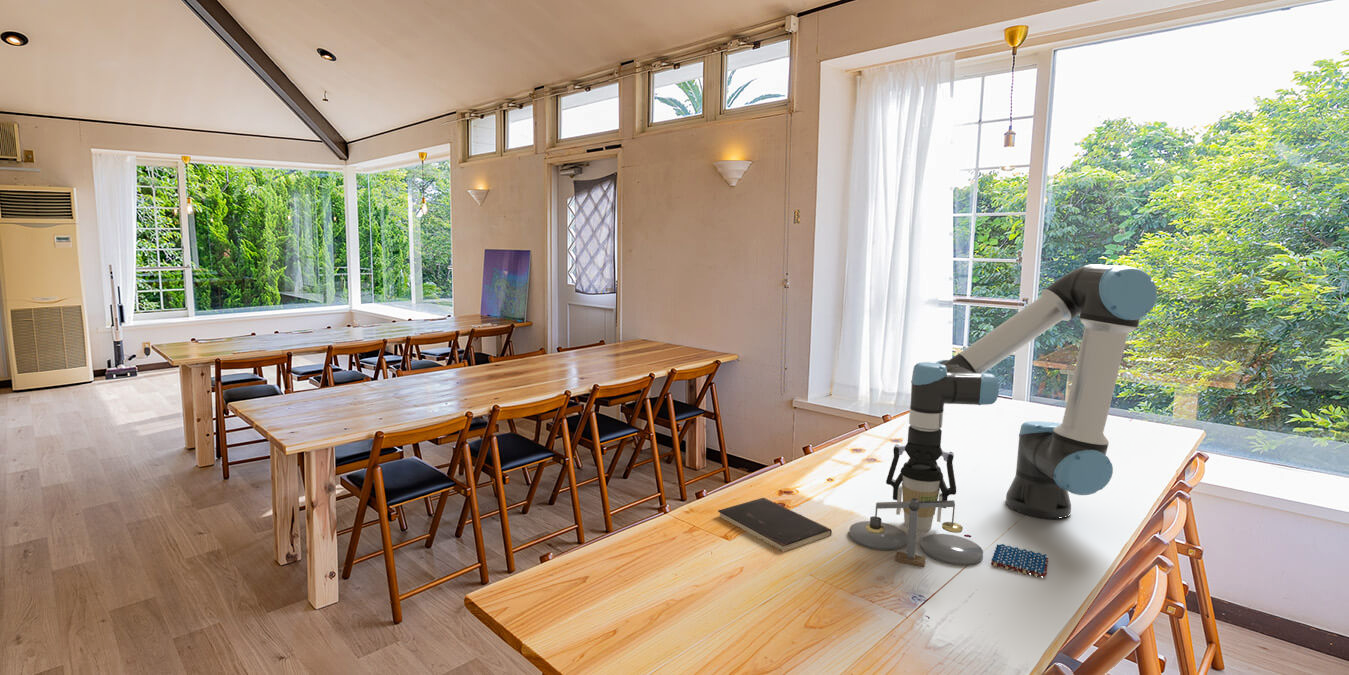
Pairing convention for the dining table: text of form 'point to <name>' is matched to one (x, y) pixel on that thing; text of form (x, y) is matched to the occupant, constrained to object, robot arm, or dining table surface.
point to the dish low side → (878, 536)
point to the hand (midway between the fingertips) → (918, 516)
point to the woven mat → (1020, 560)
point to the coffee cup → (920, 492)
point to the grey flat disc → (951, 549)
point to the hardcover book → (774, 523)
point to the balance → (912, 526)
